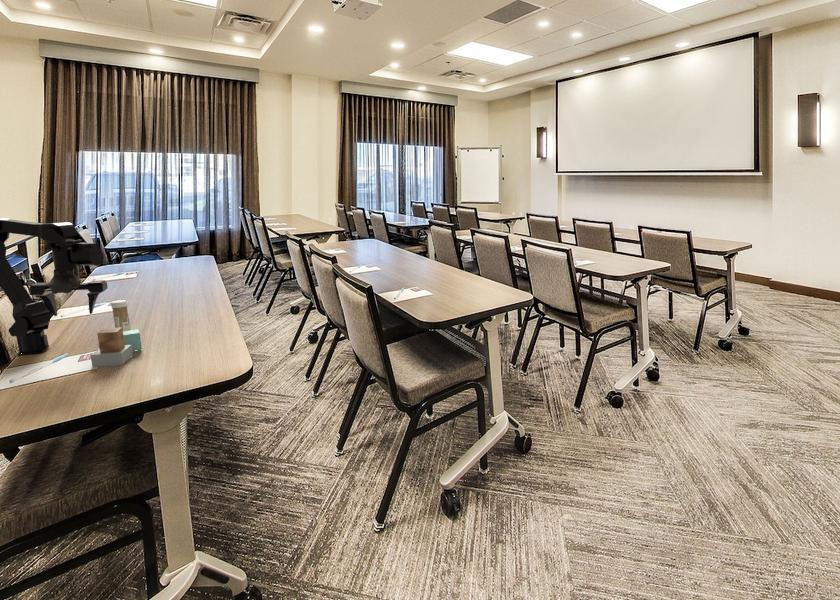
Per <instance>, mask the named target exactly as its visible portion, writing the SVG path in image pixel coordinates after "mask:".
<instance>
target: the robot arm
mask: <svg viewBox="0 0 840 600" xmlns="http://www.w3.org/2000/svg"><path fill="white" fill-rule="evenodd" d="M10 234H15V235H21V236H23V235H24V236H30V237H37V238H39V239H40V240H42V241H46V242H49V243H48V244H46V246H44V250H45V251H51V254H52V259H53V266H54V269H53V276H52V278H51V279H50V281H49V282H46V281H45V282H36V283H33V284H31V285H30V286H28V291H27V289H26V288H25V286H24V284H23V283H22V281H21V279H20V278H19V276H18V275H17V273H16V272H15V270H14V268H13V267H12V266H11V264H10V262H9V260H8V259H7V257H6V256H7V246H6V244H5V242H7V241H8V239H9V238H10ZM104 257H105V256H104V252H103V251H102V249H101V248H100V247H99V246H98V243H97V242H89V243H88V242H87V241H86V240H85V238H84V237H83V236H82V235H81V234H80V232H79V231H78V230H77V227H75V225H74V224H73V223H71V222H51V223H49V222H48V223H42V222H34V221H26V220H19V219H11V218H8V217H2V218H0V288H1V289H2V291H3V292H4V295H6V297H7V299H8V300H9V301H10V303H11V305H12V313H11V314H12V318H13V319H14V322H13V324H12V325H11V326H10V327H9V329H8V330H7V331H8V333H9V335H10V336H11V337H16V341H17V346H18V347H17V348H18V352H17V353H16V355H17V356H21V355H20V354H21V353H22V354H24V355H34V354H42V353H45V351H46V350H48V349H49V348H50V345H49V341H48V335H47V334H46V333H45V330H48V329H49V325H50V322H51V319H52V317H51V314H50V313H52V315H53V316H54V317H57V316H58V308H57V307H58V306H57V301H56V297H55V294H56V295H57V294H69V293H71V292H72V291H85V290H87V291H88V293H87V294H86V295H87V298H88V311H89V314H90V315H92V314H93V313H94V309H95V305H96V302H97V299H98V297H99V296H100V294H102V293H104V292H105V291H107V290H108V287H109V286H108V283H107V281H106V280H103V279H100V280H91V281H89V282H87V283H82V279H80V272H79V271H80V266H91V267H92V266H93V267H95V266H101V264H103V261H104ZM31 296H35V298H38V299H41V300H40V301H39V300H38V301H36V300H35V299H33V297H31ZM47 307H48V308H49V309H48V308H47ZM48 347H49V348H48Z"/></svg>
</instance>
